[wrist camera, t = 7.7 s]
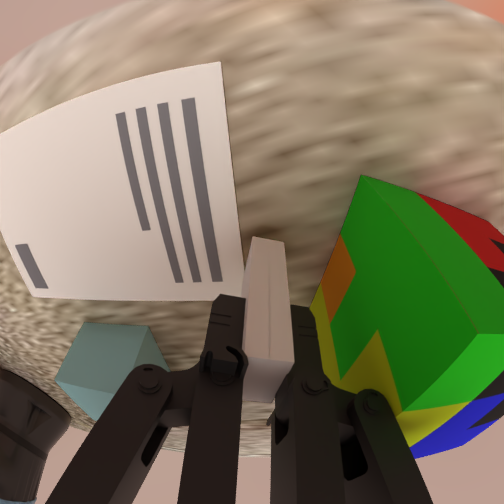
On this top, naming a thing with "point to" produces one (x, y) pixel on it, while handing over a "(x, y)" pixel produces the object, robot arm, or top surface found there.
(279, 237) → the top surface
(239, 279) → the letter
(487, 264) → the puzzle toy
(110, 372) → the teal cube
